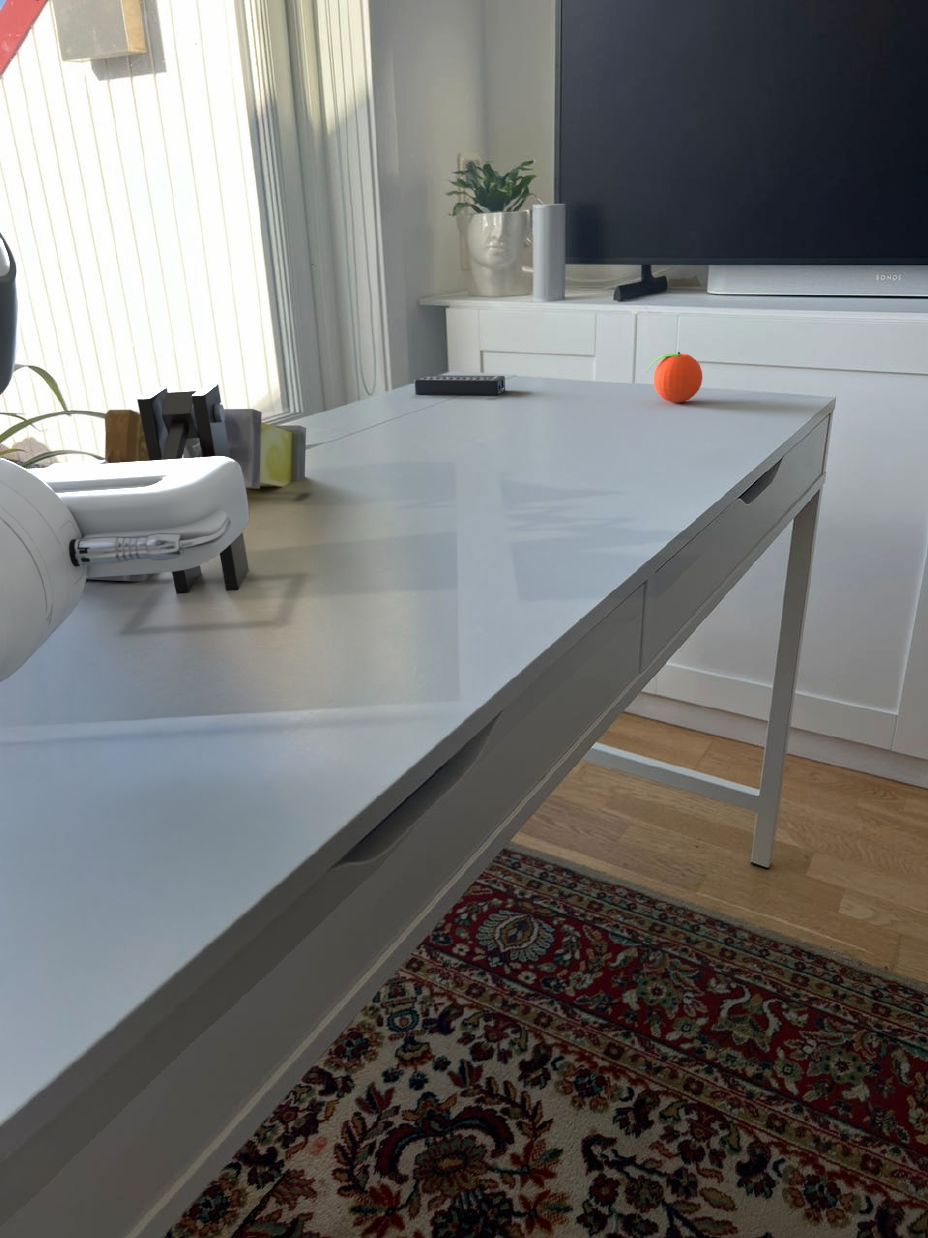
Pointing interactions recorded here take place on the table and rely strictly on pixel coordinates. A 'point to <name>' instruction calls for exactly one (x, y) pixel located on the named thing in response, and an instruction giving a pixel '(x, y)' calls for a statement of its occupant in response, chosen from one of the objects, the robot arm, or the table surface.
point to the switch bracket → (212, 445)
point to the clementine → (677, 377)
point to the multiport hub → (459, 385)
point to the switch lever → (178, 423)
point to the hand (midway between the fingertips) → (86, 475)
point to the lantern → (252, 444)
